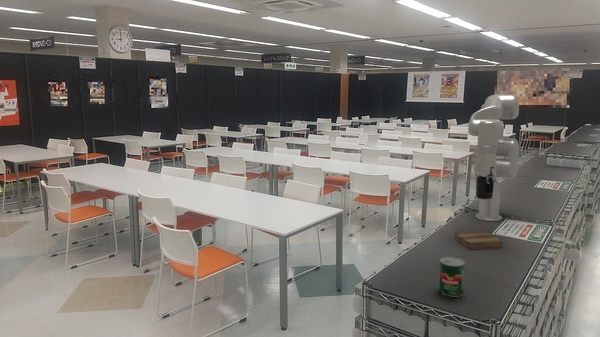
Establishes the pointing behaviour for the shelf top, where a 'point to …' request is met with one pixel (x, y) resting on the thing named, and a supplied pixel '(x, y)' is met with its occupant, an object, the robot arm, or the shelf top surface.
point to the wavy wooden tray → (478, 240)
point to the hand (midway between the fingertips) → (484, 190)
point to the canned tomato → (451, 276)
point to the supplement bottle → (482, 188)
